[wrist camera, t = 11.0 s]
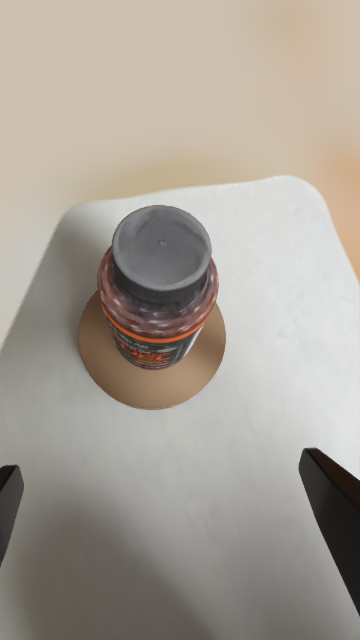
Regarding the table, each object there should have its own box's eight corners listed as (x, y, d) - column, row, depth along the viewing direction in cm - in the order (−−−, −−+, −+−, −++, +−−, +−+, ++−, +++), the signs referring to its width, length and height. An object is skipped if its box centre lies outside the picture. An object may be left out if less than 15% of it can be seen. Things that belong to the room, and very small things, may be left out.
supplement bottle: (103, 362, 21) (58, 291, 10) (125, 289, 23) (107, 169, 12) (185, 381, 21) (223, 329, 10) (200, 306, 23) (243, 202, 13)
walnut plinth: (190, 433, 22) (195, 433, 20) (58, 375, 23) (48, 369, 20) (235, 310, 26) (243, 298, 24) (122, 263, 27) (119, 247, 24)
